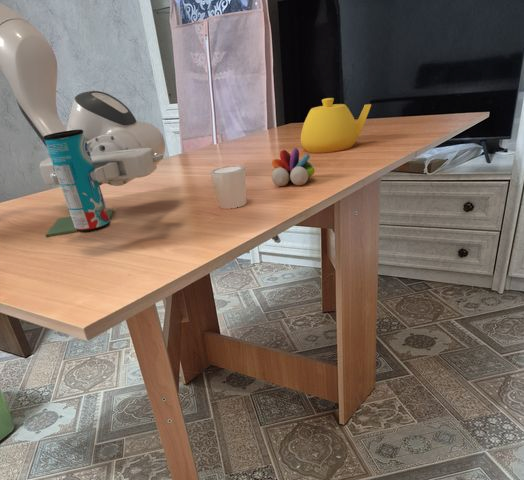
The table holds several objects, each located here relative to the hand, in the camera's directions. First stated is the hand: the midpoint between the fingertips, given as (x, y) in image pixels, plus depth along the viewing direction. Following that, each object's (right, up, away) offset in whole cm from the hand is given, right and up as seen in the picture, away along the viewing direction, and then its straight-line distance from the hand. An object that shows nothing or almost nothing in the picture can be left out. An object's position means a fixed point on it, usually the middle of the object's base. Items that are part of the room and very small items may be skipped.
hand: (73, 178), depth 75 cm
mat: (-8, -1, +24) cm, 25 cm away
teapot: (+52, +32, +62) cm, 87 cm away
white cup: (+24, +2, +22) cm, 33 cm away
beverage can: (+1, -7, +5) cm, 9 cm away
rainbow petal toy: (+37, +10, +31) cm, 50 cm away
